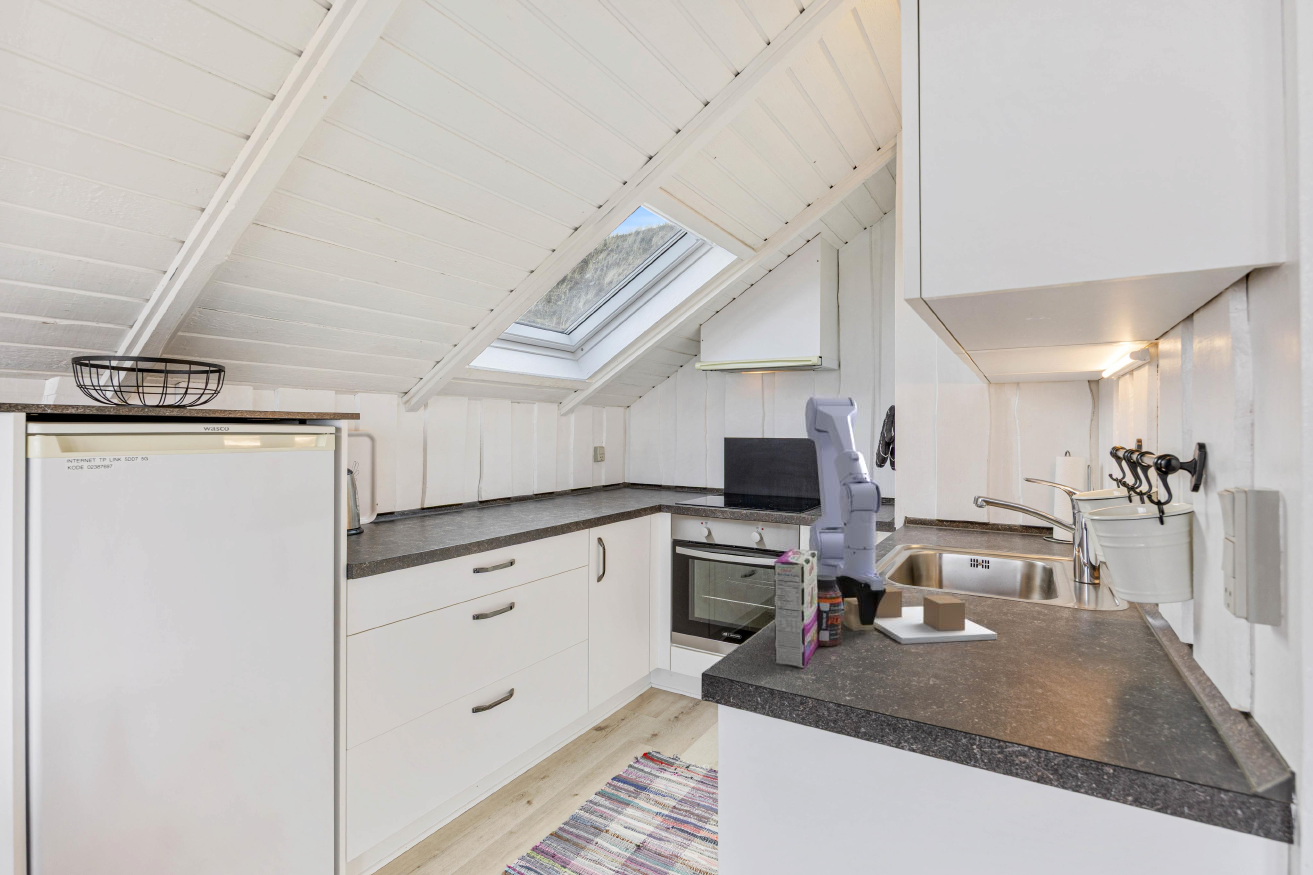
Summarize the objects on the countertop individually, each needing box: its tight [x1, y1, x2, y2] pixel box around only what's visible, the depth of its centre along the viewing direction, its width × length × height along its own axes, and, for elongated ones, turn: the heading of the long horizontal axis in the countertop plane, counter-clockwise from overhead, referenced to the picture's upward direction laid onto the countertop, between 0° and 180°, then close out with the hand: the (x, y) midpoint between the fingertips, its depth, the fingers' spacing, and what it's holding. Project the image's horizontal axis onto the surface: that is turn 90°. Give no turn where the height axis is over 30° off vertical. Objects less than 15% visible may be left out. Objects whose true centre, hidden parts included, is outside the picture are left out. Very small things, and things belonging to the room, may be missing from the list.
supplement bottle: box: [817, 575, 842, 647], centre depth 111 cm, size 6×6×11 cm
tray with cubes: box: [874, 584, 998, 645], centre depth 120 cm, size 18×18×6 cm
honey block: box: [843, 598, 875, 632], centre depth 119 cm, size 4×4×5 cm
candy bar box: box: [773, 548, 819, 669], centre depth 104 cm, size 11×5×16 cm, turn 155°
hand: (858, 619), depth 119 cm, fingers open, 6 cm apart
